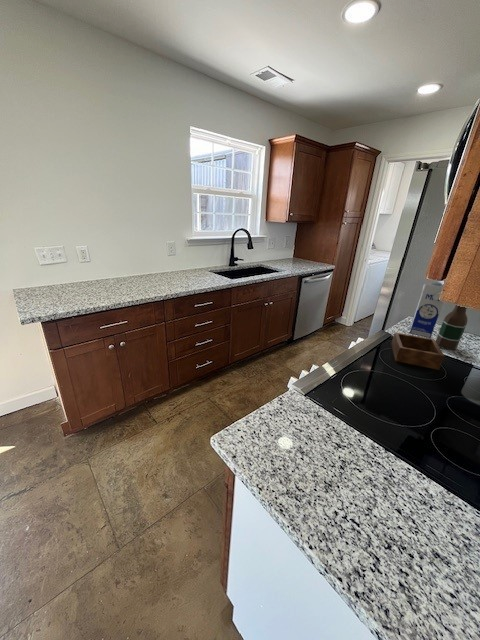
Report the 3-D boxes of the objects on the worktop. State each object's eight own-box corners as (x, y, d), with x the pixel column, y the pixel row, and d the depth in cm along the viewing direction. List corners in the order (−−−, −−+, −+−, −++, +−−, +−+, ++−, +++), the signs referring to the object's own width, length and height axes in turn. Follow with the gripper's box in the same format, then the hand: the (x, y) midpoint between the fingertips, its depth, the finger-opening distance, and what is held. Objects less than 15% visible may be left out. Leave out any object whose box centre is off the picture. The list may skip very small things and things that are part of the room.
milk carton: (409, 333, 103) (425, 283, 95) (409, 327, 108) (425, 279, 100) (430, 338, 99) (449, 287, 91) (430, 332, 104) (448, 282, 97)
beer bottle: (457, 352, 110) (480, 297, 101) (435, 346, 114) (455, 293, 104) (455, 344, 116) (477, 292, 107) (434, 340, 120) (453, 289, 110)
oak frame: (429, 351, 110) (434, 338, 108) (439, 369, 98) (444, 356, 95) (391, 344, 115) (394, 332, 112) (395, 361, 102) (399, 347, 100)
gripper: (459, 260, 99) (420, 282, 106) (478, 271, 82) (431, 296, 89) (469, 273, 99) (430, 294, 106) (490, 287, 82) (442, 310, 89)
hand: (430, 295), depth 98 cm, fingers closed on milk carton, 7 cm apart
